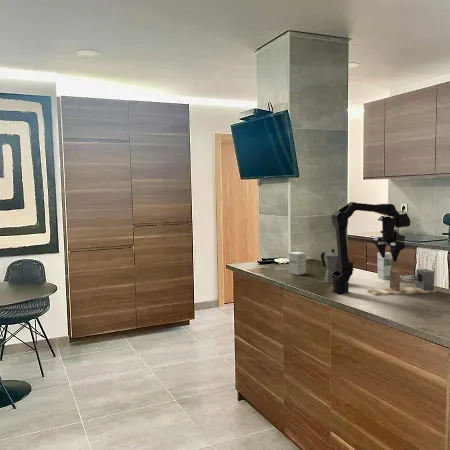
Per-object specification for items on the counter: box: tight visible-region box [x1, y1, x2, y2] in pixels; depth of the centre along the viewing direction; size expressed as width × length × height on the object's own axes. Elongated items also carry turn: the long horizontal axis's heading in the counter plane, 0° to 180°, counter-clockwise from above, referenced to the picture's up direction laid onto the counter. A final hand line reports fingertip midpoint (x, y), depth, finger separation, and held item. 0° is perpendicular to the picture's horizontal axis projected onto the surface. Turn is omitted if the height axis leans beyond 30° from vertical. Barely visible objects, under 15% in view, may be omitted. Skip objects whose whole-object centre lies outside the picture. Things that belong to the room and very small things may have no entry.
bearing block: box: [415, 268, 435, 291], centre depth 217 cm, size 5×7×9 cm
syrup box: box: [377, 251, 393, 280], centre depth 248 cm, size 6×6×14 cm
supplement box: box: [288, 251, 307, 276], centre depth 268 cm, size 7×7×13 cm
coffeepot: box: [320, 248, 338, 284], centre depth 243 cm, size 15×9×18 cm, turn 33°
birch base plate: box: [367, 286, 436, 296], centre depth 216 cm, size 30×8×1 cm, turn 97°
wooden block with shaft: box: [389, 269, 418, 291], centre depth 216 cm, size 12×6×9 cm, turn 97°
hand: (389, 259), depth 223 cm, fingers open, 9 cm apart
